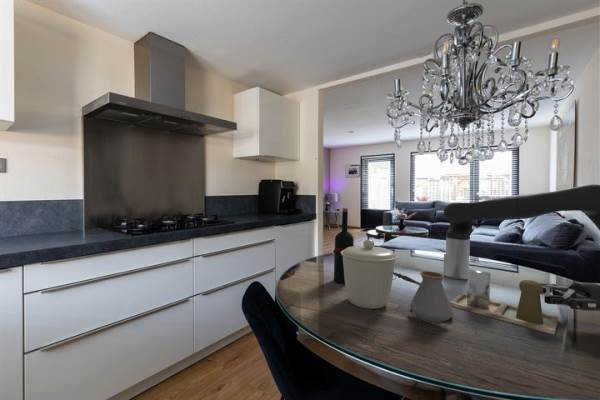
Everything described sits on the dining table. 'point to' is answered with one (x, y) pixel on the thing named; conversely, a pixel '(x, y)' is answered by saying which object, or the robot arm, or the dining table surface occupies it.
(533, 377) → the dining table surface
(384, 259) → the canister
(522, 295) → the olive brown pepper mill
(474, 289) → the clear glass tumbler
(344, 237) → the wine bottle
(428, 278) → the coffee pot
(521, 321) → the wooden tray
